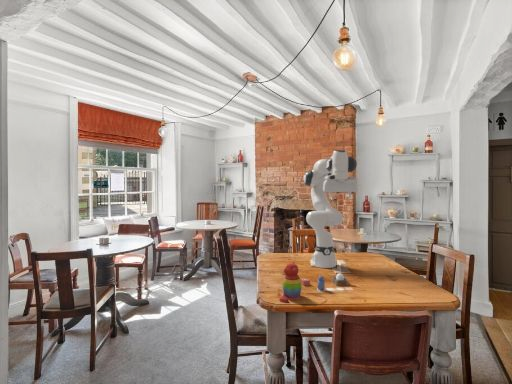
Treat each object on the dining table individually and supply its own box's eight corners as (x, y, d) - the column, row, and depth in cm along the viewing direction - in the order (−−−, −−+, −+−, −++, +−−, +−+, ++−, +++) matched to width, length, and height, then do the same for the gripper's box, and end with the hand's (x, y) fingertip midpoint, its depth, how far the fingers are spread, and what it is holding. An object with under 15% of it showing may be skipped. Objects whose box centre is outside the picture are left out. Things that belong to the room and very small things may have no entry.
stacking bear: (284, 294, 154) (284, 260, 153) (303, 296, 150) (303, 261, 150) (278, 301, 144) (278, 265, 143) (298, 304, 140) (298, 267, 140)
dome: (334, 280, 168) (334, 272, 168) (342, 280, 168) (342, 272, 168) (337, 282, 164) (337, 274, 164) (345, 282, 164) (345, 274, 164)
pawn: (316, 288, 158) (316, 274, 158) (323, 288, 158) (323, 274, 158) (318, 290, 154) (318, 276, 154) (325, 290, 154) (325, 276, 154)
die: (300, 286, 166) (300, 278, 166) (306, 285, 167) (306, 278, 167) (303, 288, 162) (303, 280, 162) (310, 287, 163) (310, 280, 163)
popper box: (331, 283, 169) (331, 276, 169) (343, 283, 170) (343, 276, 170) (336, 288, 162) (336, 280, 162) (348, 287, 163) (348, 280, 163)
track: (312, 289, 160) (312, 287, 160) (352, 288, 161) (352, 286, 161) (316, 295, 152) (316, 292, 152) (358, 293, 153) (358, 291, 153)
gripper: (354, 176, 180) (354, 199, 181) (322, 177, 179) (322, 199, 179) (359, 176, 174) (359, 200, 174) (325, 176, 173) (325, 200, 173)
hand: (340, 199), depth 177 cm, fingers open, 8 cm apart
